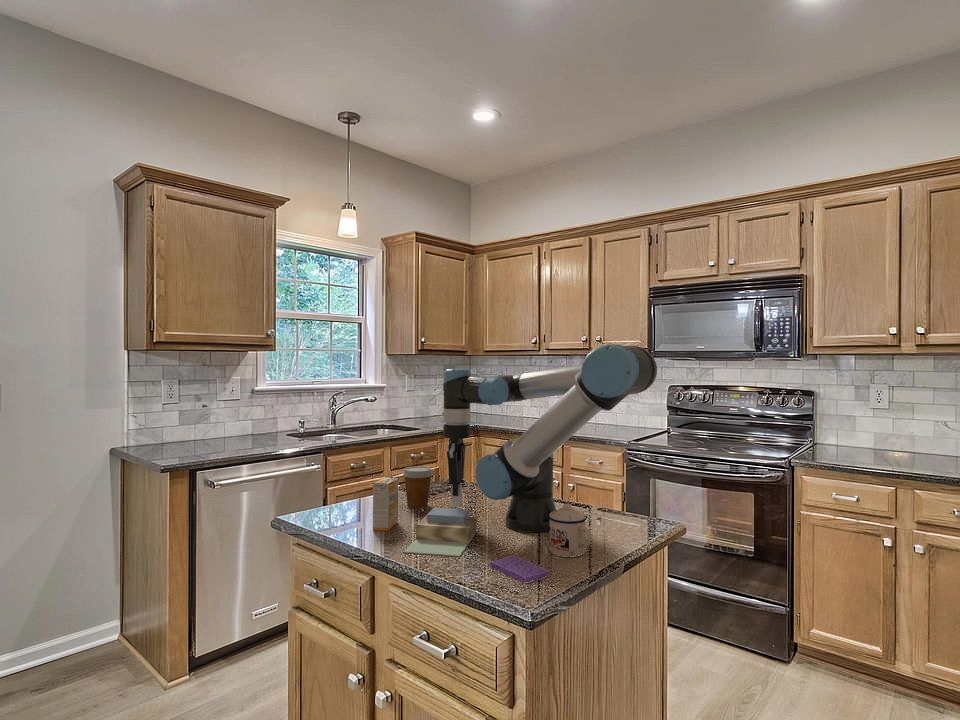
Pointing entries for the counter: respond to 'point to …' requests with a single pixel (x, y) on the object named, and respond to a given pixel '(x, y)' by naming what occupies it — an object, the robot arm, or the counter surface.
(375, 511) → the supplement box
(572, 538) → the teacup with lid
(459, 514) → the blue-grey rectangular block
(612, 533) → the counter surface
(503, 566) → the sponges
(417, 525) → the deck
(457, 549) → the mat
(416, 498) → the disposable coffee cup
